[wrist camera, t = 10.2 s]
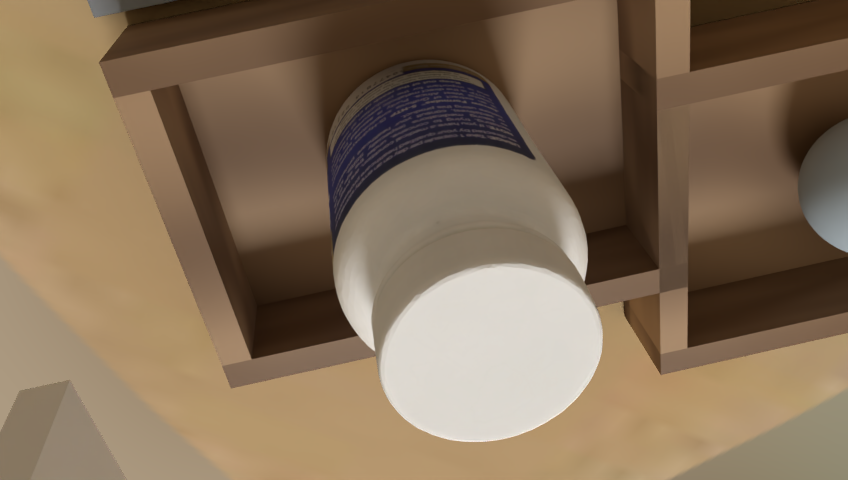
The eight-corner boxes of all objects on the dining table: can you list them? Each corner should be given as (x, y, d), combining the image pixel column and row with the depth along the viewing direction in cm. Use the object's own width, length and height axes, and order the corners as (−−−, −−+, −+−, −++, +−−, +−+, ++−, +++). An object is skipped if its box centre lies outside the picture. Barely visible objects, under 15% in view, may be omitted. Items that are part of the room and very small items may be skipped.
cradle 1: (127, 25, 19) (99, 62, 16) (638, -82, 19) (690, -63, 16) (239, 323, 23) (231, 388, 21) (646, 233, 24) (687, 287, 21)
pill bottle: (284, 159, 20) (270, 377, 13) (422, 12, 19) (499, 158, 11) (425, 268, 23) (485, 507, 15) (557, 144, 21) (698, 340, 13)
